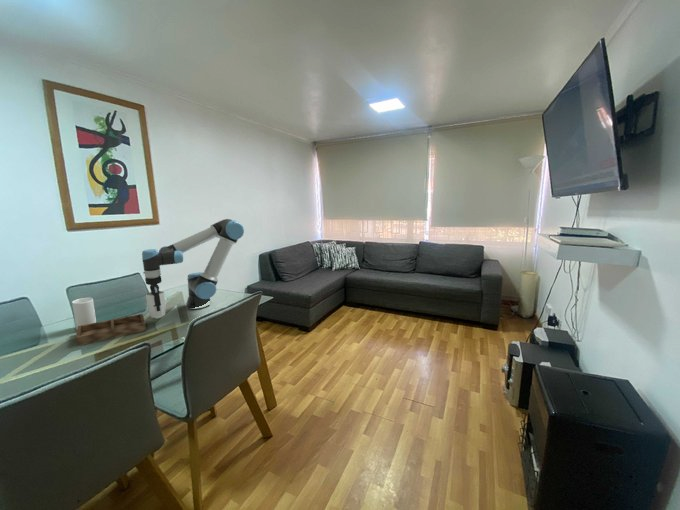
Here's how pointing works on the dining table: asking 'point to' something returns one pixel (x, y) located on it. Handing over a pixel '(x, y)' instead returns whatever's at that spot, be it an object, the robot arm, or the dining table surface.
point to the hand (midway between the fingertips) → (157, 312)
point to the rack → (109, 329)
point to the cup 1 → (84, 311)
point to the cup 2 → (151, 304)
